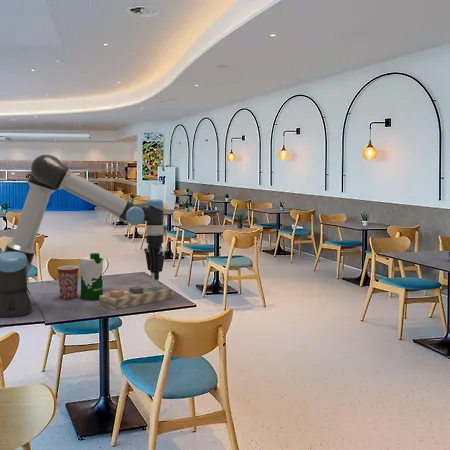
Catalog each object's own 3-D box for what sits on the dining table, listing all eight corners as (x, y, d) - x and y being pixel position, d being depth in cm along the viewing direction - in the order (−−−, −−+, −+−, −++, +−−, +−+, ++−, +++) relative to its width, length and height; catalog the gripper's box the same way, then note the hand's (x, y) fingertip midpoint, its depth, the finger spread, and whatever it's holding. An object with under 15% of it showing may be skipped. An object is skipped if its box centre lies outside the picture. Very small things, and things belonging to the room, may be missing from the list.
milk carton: (92, 301, 240) (92, 255, 237) (76, 298, 244) (76, 253, 242) (106, 297, 247) (105, 252, 245) (90, 294, 252) (90, 251, 249)
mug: (72, 300, 241) (72, 269, 239) (54, 298, 243) (53, 268, 241) (86, 293, 253) (86, 264, 252) (68, 292, 255) (68, 263, 254)
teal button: (153, 295, 244) (153, 288, 244) (147, 293, 247) (147, 287, 247) (161, 294, 247) (161, 287, 247) (155, 292, 250) (155, 285, 250)
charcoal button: (135, 296, 237) (135, 289, 237) (129, 294, 240) (129, 287, 240) (143, 294, 240) (143, 287, 240) (137, 293, 243) (137, 286, 243)
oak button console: (114, 309, 226) (114, 300, 226) (99, 304, 234) (99, 295, 233) (171, 298, 247) (171, 289, 247) (156, 293, 255) (156, 285, 254)
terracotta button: (115, 300, 230) (115, 292, 230) (109, 298, 233) (109, 291, 233) (124, 298, 233) (124, 291, 233) (118, 296, 236) (118, 289, 236)
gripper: (170, 235, 242) (170, 287, 245) (152, 232, 252) (152, 283, 254) (157, 236, 237) (157, 290, 240) (139, 233, 246) (139, 285, 249)
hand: (154, 286), depth 247 cm, fingers closed
